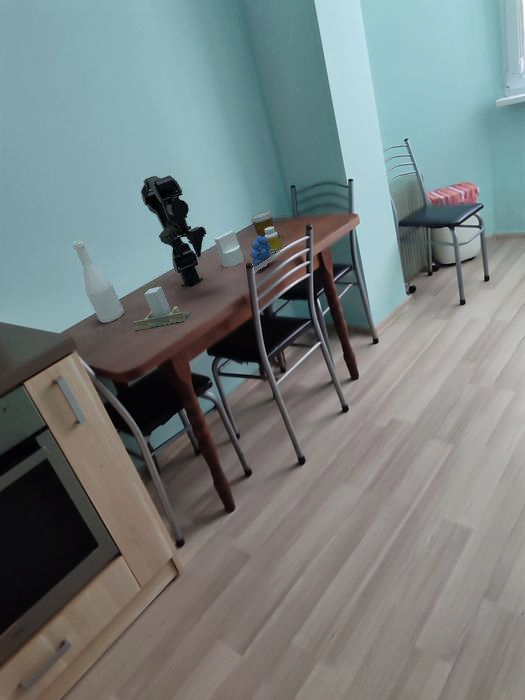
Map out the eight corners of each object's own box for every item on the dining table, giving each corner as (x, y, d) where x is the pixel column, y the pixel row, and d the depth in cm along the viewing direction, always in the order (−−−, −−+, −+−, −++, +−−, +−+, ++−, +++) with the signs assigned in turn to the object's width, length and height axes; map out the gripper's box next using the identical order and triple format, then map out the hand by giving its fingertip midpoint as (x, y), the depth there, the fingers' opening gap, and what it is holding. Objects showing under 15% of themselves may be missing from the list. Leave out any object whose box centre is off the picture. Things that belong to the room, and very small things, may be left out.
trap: (144, 321, 168) (140, 313, 167) (191, 311, 163) (188, 303, 162) (136, 330, 163) (132, 322, 161) (184, 321, 158) (181, 313, 156)
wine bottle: (99, 319, 184) (62, 244, 171) (122, 309, 187) (88, 234, 173) (101, 326, 176) (64, 248, 163) (126, 315, 179) (91, 238, 165)
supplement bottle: (280, 252, 193) (274, 228, 189) (268, 255, 195) (261, 231, 191) (282, 247, 198) (276, 224, 194) (270, 250, 200) (263, 227, 195)
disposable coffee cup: (282, 236, 213) (275, 209, 207) (271, 244, 206) (264, 217, 201) (264, 238, 218) (257, 212, 213) (253, 246, 212) (245, 219, 206)
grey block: (161, 318, 166) (149, 289, 161) (173, 315, 165) (161, 286, 160) (156, 324, 163) (144, 294, 158) (168, 321, 161) (156, 291, 156)
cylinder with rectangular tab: (231, 268, 193) (222, 239, 188) (218, 266, 200) (209, 239, 194) (248, 259, 198) (239, 230, 192) (235, 258, 204) (226, 230, 199)
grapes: (264, 261, 189) (256, 232, 183) (278, 260, 185) (270, 230, 179) (247, 274, 181) (238, 243, 176) (261, 273, 177) (252, 242, 172)
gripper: (141, 225, 168) (158, 267, 175) (176, 221, 156) (192, 266, 163) (164, 214, 174) (179, 254, 182) (199, 209, 162) (214, 253, 169)
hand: (190, 257), depth 174 cm, fingers open, 9 cm apart
